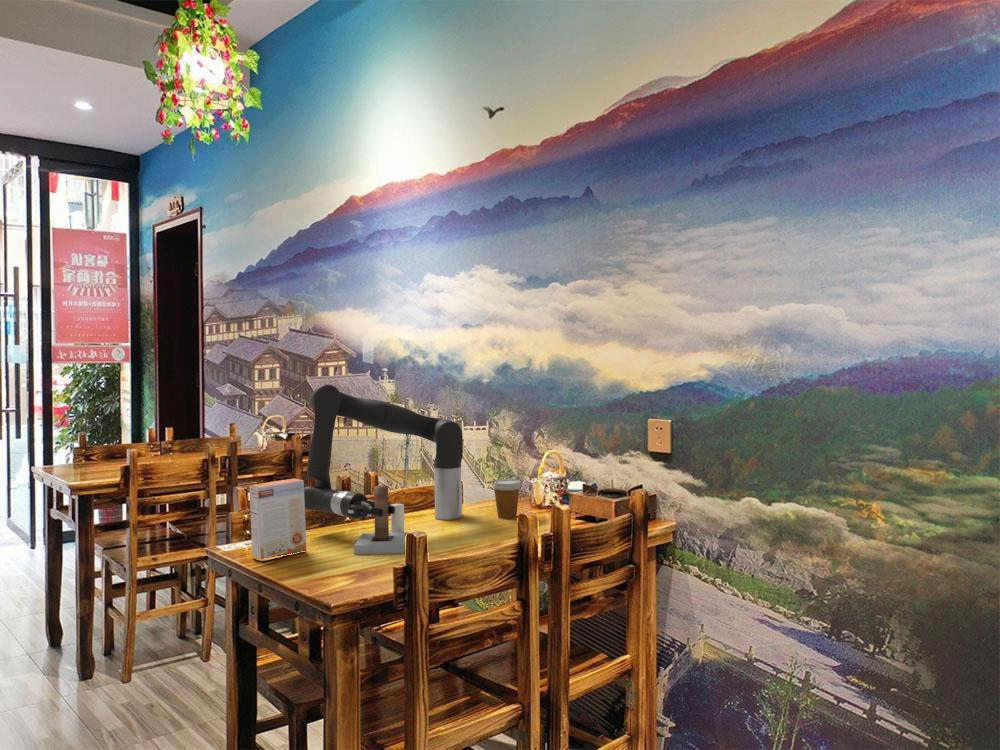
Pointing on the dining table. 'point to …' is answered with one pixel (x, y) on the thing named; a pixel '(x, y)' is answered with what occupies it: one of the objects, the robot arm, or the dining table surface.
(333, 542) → the dining table surface
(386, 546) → the board
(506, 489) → the disposable coffee cup
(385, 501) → the walnut dowel
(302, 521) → the cracker box
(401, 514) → the cream rod
